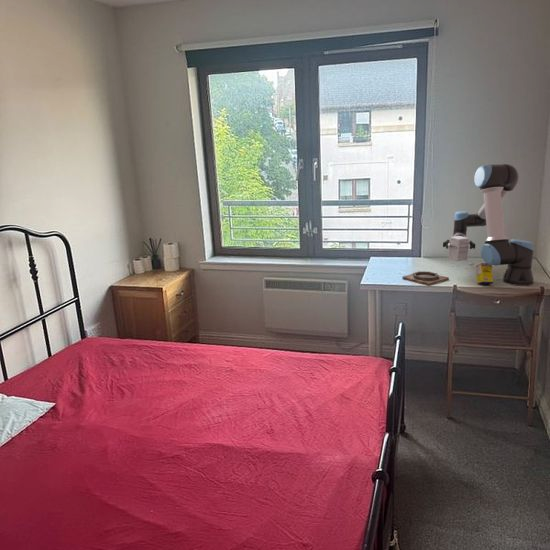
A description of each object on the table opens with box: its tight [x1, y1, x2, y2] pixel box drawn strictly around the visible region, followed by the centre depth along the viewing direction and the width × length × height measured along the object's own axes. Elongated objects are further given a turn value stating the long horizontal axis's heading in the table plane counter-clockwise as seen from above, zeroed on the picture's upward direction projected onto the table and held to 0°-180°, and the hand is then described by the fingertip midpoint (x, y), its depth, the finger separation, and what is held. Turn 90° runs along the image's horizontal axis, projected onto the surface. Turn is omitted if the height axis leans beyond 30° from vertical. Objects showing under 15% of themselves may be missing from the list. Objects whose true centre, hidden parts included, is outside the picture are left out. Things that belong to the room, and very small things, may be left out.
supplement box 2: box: [475, 262, 494, 285], centre depth 267 cm, size 6×6×11 cm
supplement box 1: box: [448, 236, 470, 262], centre depth 277 cm, size 7×7×13 cm
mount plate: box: [402, 270, 450, 286], centre depth 279 cm, size 18×18×3 cm
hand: (458, 248), depth 272 cm, fingers closed on supplement box 1, 10 cm apart
